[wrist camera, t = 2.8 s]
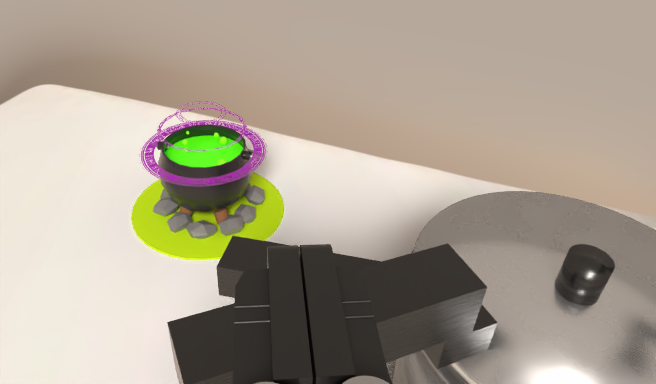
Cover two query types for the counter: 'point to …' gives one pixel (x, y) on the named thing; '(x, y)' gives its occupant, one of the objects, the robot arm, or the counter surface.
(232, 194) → the toy cauldron
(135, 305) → the counter surface
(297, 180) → the counter surface
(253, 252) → the cooker pot
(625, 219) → the lid
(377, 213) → the counter surface
